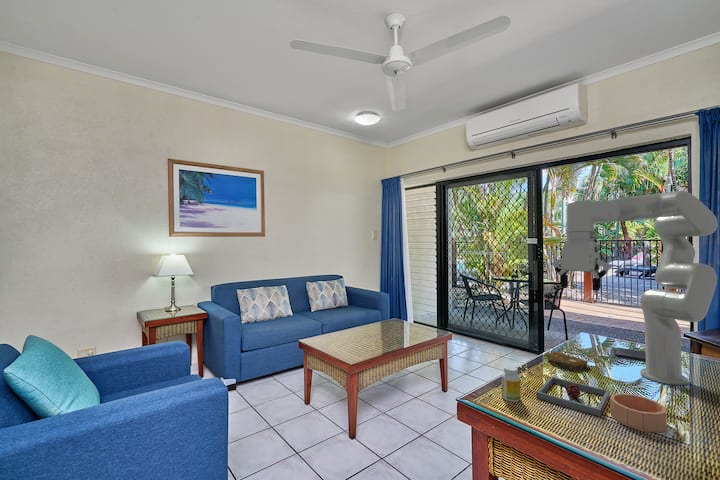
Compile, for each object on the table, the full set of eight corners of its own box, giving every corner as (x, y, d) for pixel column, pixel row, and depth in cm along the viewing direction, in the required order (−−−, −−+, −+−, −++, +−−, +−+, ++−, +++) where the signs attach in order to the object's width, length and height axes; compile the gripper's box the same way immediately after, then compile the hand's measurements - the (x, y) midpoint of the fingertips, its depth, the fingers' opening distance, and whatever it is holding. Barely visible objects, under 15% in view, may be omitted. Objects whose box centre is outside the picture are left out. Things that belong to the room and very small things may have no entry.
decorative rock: (538, 363, 135) (579, 376, 123) (538, 353, 135) (579, 365, 123) (551, 356, 142) (591, 367, 130) (551, 346, 142) (591, 357, 130)
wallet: (609, 353, 141) (611, 344, 152) (609, 357, 141) (611, 348, 152) (673, 364, 128) (671, 353, 139) (674, 369, 128) (671, 358, 139)
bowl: (614, 405, 99) (613, 389, 99) (666, 419, 91) (666, 402, 91) (607, 421, 91) (607, 403, 91) (665, 438, 82) (665, 418, 82)
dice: (582, 397, 105) (581, 384, 105) (577, 401, 102) (577, 388, 102) (568, 393, 108) (568, 380, 108) (564, 397, 105) (563, 384, 105)
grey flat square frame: (551, 381, 116) (551, 376, 116) (609, 396, 105) (609, 390, 105) (536, 397, 105) (536, 392, 105) (600, 416, 93) (600, 410, 93)
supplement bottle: (498, 396, 106) (497, 366, 106) (509, 393, 108) (509, 363, 108) (512, 403, 101) (511, 372, 101) (524, 400, 103) (523, 369, 103)
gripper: (615, 237, 105) (615, 291, 105) (559, 238, 120) (558, 285, 120) (604, 237, 101) (604, 292, 101) (547, 237, 116) (547, 286, 116)
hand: (579, 288), depth 110 cm, fingers open, 9 cm apart
